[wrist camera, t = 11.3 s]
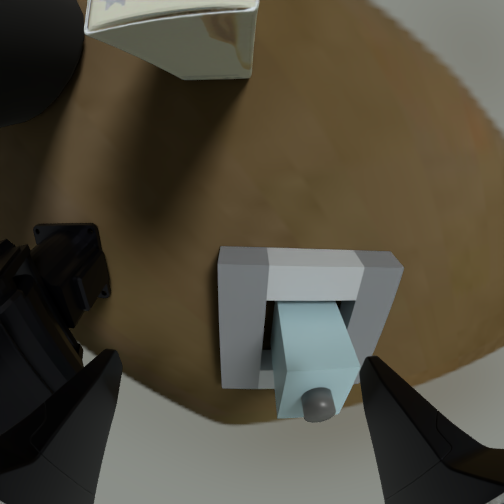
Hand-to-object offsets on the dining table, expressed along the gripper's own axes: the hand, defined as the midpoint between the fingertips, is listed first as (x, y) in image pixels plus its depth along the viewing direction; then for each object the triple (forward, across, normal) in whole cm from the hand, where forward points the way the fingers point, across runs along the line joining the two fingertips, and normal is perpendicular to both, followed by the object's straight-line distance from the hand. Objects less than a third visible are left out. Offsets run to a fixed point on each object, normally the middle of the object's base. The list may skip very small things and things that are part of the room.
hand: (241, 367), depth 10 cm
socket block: (+12, -5, +8) cm, 15 cm away
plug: (+12, -5, +8) cm, 15 cm away
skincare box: (+12, +2, -13) cm, 18 cm away
